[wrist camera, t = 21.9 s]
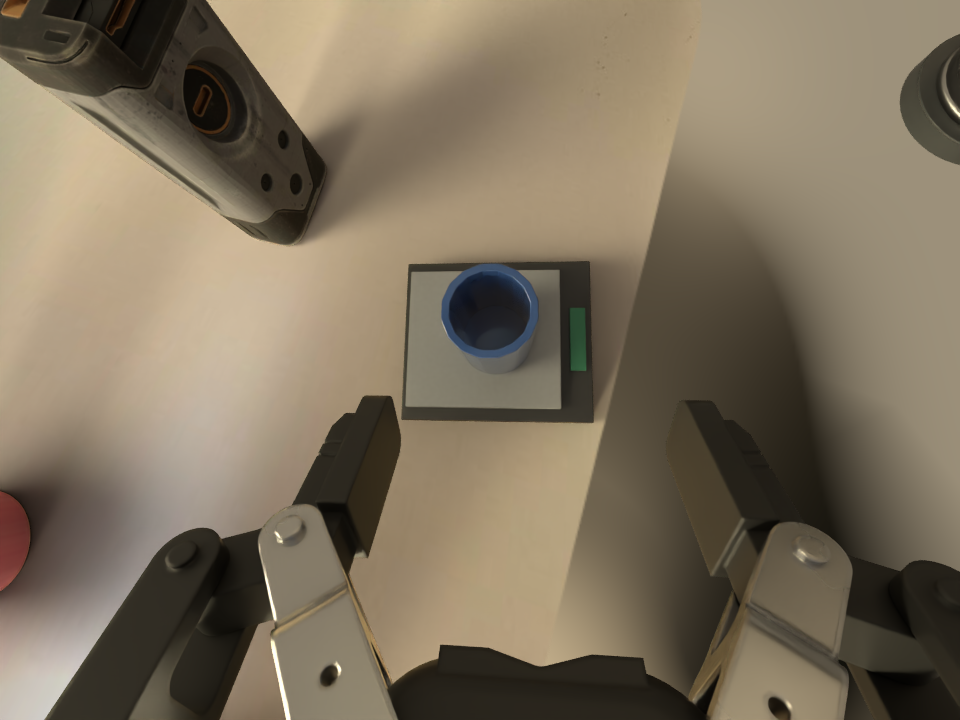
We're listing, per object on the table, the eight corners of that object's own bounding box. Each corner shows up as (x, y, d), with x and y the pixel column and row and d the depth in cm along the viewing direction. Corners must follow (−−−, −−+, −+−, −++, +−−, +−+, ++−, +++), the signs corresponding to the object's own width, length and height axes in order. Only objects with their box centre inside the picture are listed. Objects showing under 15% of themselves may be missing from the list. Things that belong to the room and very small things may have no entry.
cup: (533, 302, 33) (538, 262, 25) (533, 375, 32) (538, 358, 24) (460, 302, 33) (442, 264, 25) (458, 374, 32) (439, 357, 24)
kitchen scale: (585, 270, 36) (591, 257, 33) (588, 423, 34) (595, 422, 31) (414, 273, 37) (405, 260, 34) (408, 419, 35) (398, 419, 32)
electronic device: (300, 252, 38) (72, 69, 19) (243, 237, 39) (-33, 46, 19) (333, 162, 40) (151, -99, 20) (277, 150, 40) (49, -114, 21)
